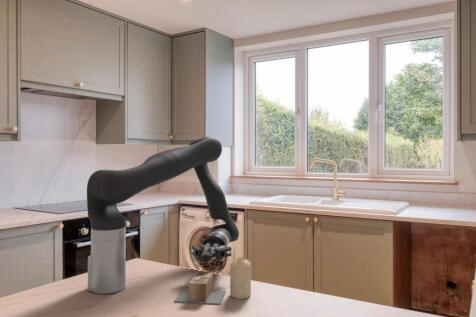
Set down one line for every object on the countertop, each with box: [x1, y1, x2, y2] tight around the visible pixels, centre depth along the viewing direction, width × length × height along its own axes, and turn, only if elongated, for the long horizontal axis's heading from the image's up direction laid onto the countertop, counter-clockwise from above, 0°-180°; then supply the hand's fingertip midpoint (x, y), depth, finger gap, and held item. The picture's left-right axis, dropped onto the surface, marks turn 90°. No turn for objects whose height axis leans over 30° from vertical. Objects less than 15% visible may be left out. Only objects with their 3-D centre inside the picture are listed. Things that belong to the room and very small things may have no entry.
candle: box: [229, 256, 252, 300], centre depth 104 cm, size 6×6×10 cm
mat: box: [173, 288, 227, 306], centre depth 102 cm, size 12×9×1 cm
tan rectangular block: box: [188, 270, 215, 301], centre depth 104 cm, size 4×5×10 cm
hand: (205, 258), depth 108 cm, fingers closed
